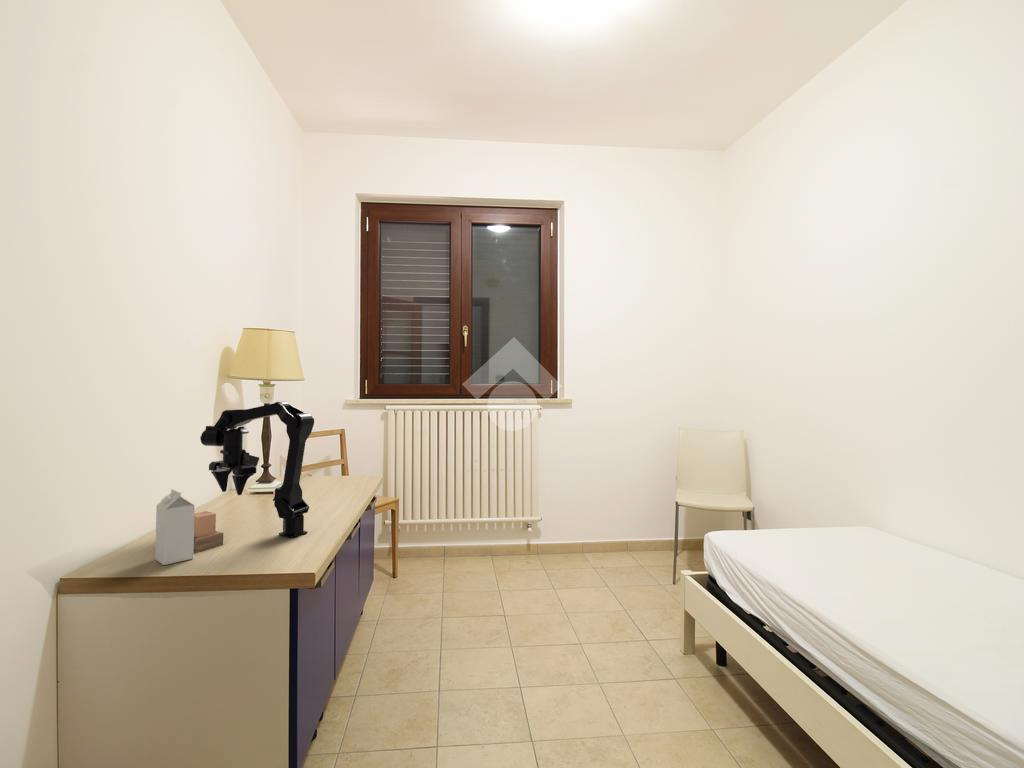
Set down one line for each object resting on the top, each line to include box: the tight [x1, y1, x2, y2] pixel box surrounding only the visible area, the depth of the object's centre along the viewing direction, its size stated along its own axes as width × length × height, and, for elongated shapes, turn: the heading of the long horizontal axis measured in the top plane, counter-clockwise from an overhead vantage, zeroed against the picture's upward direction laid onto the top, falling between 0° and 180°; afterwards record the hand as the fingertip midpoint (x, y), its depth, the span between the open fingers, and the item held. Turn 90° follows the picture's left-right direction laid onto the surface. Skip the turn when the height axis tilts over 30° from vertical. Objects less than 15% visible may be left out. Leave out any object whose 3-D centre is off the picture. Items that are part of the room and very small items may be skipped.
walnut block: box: [193, 530, 224, 553], centre depth 149 cm, size 8×8×4 cm
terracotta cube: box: [194, 510, 217, 538], centre depth 150 cm, size 5×5×6 cm
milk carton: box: [154, 488, 195, 566], centre depth 138 cm, size 7×7×19 cm
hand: (231, 493), depth 168 cm, fingers open, 9 cm apart
